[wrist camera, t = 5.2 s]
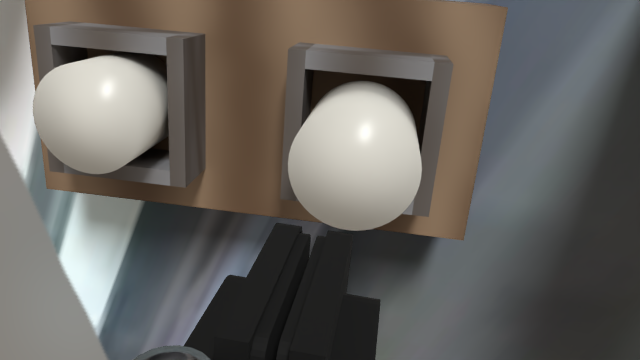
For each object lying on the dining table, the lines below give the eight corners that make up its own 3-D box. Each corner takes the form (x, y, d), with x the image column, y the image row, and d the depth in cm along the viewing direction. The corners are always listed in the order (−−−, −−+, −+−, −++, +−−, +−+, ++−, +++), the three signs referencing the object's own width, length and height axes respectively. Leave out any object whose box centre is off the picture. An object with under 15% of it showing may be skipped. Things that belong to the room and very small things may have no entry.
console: (486, 3, 30) (522, 10, 21) (452, 198, 34) (471, 267, 26) (85, -29, 32) (-23, -35, 24) (99, 157, 36) (12, 208, 28)
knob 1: (182, 54, 27) (138, 68, 22) (184, 148, 28) (143, 180, 24) (89, 45, 27) (26, 57, 23) (96, 138, 29) (39, 167, 24)
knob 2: (423, 86, 23) (431, 111, 19) (408, 191, 25) (412, 238, 20) (311, 75, 24) (291, 96, 19) (304, 179, 25) (284, 222, 21)
